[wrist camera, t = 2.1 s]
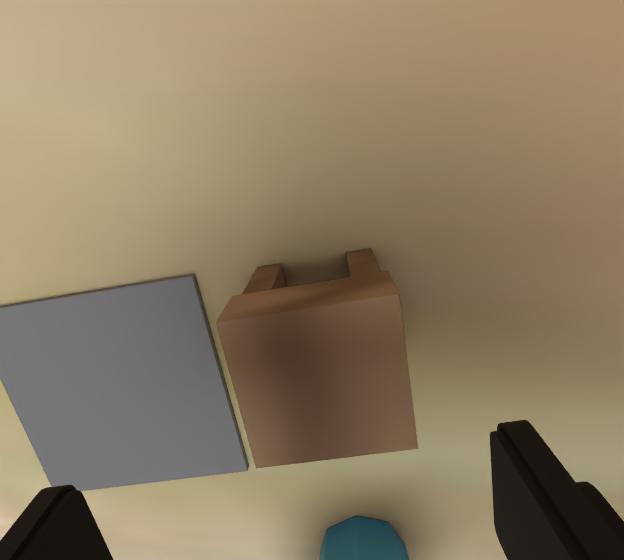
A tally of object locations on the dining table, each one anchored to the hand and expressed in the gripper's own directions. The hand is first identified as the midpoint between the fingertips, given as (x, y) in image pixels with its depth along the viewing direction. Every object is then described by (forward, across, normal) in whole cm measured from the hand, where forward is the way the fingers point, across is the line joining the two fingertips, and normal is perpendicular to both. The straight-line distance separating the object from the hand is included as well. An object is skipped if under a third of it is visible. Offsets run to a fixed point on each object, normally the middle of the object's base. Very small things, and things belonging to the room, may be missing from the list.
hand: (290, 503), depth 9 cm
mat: (+12, +11, +4) cm, 17 cm away
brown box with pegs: (+12, -1, 0) cm, 12 cm away
